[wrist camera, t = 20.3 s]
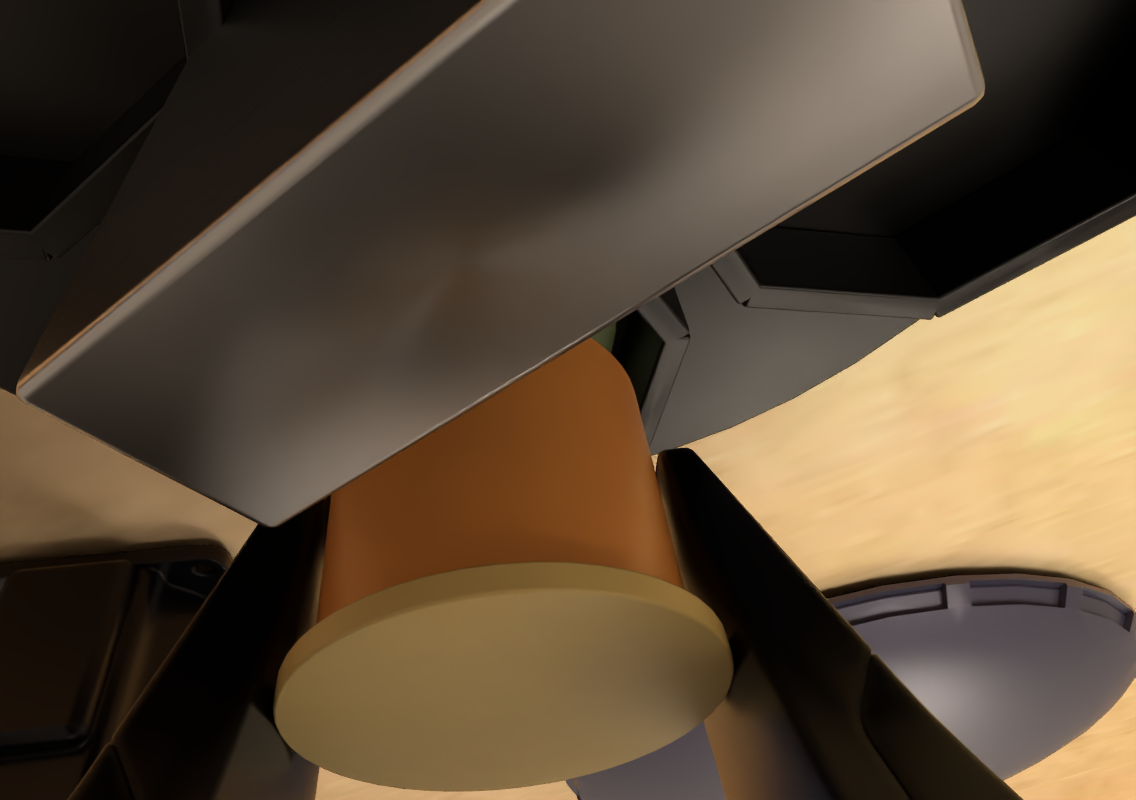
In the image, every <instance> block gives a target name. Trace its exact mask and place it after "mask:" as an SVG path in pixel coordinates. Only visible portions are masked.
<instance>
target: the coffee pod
mask: <svg viewBox="0 0 1136 800" xmlns="http://www.w3.org/2000/svg"><path fill="white" fill-rule="evenodd" d="M733 674H734V662H733V655H732V652H731V648H730V644H729V641H728V637H727V635H726V632H725V629H724V627H723V624H722V623H721V621H720V620H719V619H718V617H717V616H716V615H715V613H714V612H713V611H712V609H711V608H709V607H708V606H707V605H706V604H705V603H704V602H702V601H701V600H700V599H699V598H698V597H696V596H694V595H693V594H691V593H689V592H688V591H686V590H685V589H684V585H683V581H682V577H681V573H680V569H679V565H678V561H677V557H676V553H675V549H674V545H673V541H672V537H671V533H670V529H669V525H668V521H667V517H666V514H665V510H664V506H663V502H662V498H661V494H660V490H659V486H658V482H657V478H656V474H655V470H654V466H653V462H652V458H651V454H650V450H649V446H648V442H647V438H646V434H645V430H644V426H643V422H642V418H641V414H640V411H639V407H638V403H637V399H636V395H635V391H634V388H633V386H632V383H631V380H630V378H629V376H628V375H627V373H626V372H625V370H624V368H623V367H622V365H621V364H620V363H619V362H618V361H617V360H616V358H615V357H614V356H613V355H612V354H611V353H610V352H609V351H608V350H606V349H605V348H604V347H603V346H602V345H600V344H599V343H598V342H597V341H595V340H594V339H592V338H589V339H587V340H586V341H584V342H582V343H581V344H579V345H577V346H576V347H574V348H572V349H571V350H569V351H567V352H566V353H564V354H562V355H561V356H559V357H557V358H556V359H554V360H552V361H551V362H549V363H548V364H546V365H544V366H543V367H541V368H539V369H538V370H536V371H534V372H533V373H531V374H529V375H528V376H526V377H524V378H523V379H521V380H519V381H518V382H516V383H514V384H513V385H511V386H509V387H508V388H506V389H505V390H503V391H501V392H500V393H498V394H496V395H495V396H493V397H491V398H490V399H488V400H486V401H485V402H483V403H481V404H480V405H478V406H476V407H475V408H473V409H471V410H470V411H468V412H466V413H465V414H463V415H462V416H460V417H458V418H457V419H455V420H453V421H452V422H450V423H448V424H447V425H445V426H443V427H442V428H440V429H438V430H437V431H435V432H433V433H432V434H430V435H428V436H427V437H425V438H423V439H422V440H420V441H419V442H417V443H415V444H414V445H412V446H410V447H409V448H407V449H405V450H404V451H402V452H400V453H399V454H397V455H395V456H394V457H392V458H390V459H389V460H387V461H385V462H384V463H382V464H380V465H379V466H377V467H376V468H374V469H372V470H371V471H369V472H367V473H366V474H364V475H362V476H361V477H359V478H357V479H356V480H354V481H352V482H351V483H349V484H347V485H346V486H344V487H342V488H341V489H339V490H337V491H336V492H334V493H333V494H331V501H330V510H329V518H328V527H327V535H326V544H325V552H324V561H323V569H322V578H321V586H320V595H319V603H318V612H317V620H316V625H314V626H313V627H312V628H311V629H310V630H309V631H308V632H306V633H305V634H304V635H303V636H302V637H301V638H300V639H299V640H298V641H297V642H296V644H295V645H294V646H293V647H292V648H291V650H290V651H289V652H288V654H287V655H286V657H285V659H284V661H283V663H282V665H281V667H280V669H279V672H278V677H277V683H276V689H275V696H274V702H273V714H274V722H275V725H276V727H277V729H278V731H279V733H280V735H281V737H282V738H283V739H284V741H285V742H286V743H287V744H288V745H289V746H290V748H292V749H293V750H294V751H295V752H297V753H298V754H299V755H300V756H302V757H303V758H305V759H306V760H308V761H310V762H312V763H313V764H315V765H317V766H319V767H321V768H324V769H326V770H328V771H331V772H333V773H336V774H339V775H342V776H345V777H348V778H352V779H355V780H359V781H363V782H368V783H372V784H377V785H383V786H389V787H395V788H403V789H413V790H424V791H486V790H500V789H510V788H520V787H527V786H534V785H541V784H547V783H552V782H557V781H562V780H568V779H572V778H576V777H580V776H584V775H588V774H592V773H595V772H599V771H602V770H606V769H609V768H612V767H615V766H618V765H621V764H624V763H627V762H629V761H632V760H635V759H637V758H639V757H642V756H644V755H647V754H649V753H651V752H654V751H656V750H658V749H660V748H662V747H664V746H666V745H668V744H670V743H672V742H673V741H675V740H677V739H678V738H680V737H682V736H683V735H685V734H686V733H688V732H690V731H691V730H692V729H694V728H695V727H696V726H698V725H699V724H700V723H702V722H703V721H704V720H705V719H706V718H707V717H708V716H709V715H710V714H711V713H713V712H714V711H715V710H716V708H717V707H718V706H719V705H720V703H721V702H722V701H723V699H724V698H725V696H726V694H727V692H728V690H729V688H730V686H731V683H732V678H733Z"/></svg>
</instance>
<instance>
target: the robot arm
mask: <svg viewBox="0 0 1136 800" xmlns="http://www.w3.org/2000/svg"><path fill="white" fill-rule="evenodd" d="M655 474H656V478H657V482H658V486H659V490H660V494H661V498H662V502H663V506H664V510H665V514H666V517H667V521H668V525H669V529H670V533H671V537H672V541H673V545H674V549H675V553H676V557H677V561H678V565H679V569H680V573H681V577H682V581H683V585H684V589H685V590H686V591H688V592H689V593H691V594H693V595H694V596H696V597H698V598H699V599H700V600H701V601H702V602H704V603H705V604H706V605H707V606H708V607H709V608H711V609H712V611H713V612H714V613H715V615H716V616H717V617H718V619H719V620H720V621H721V623H722V624H723V627H724V629H725V632H726V635H727V637H728V641H729V644H730V648H731V652H732V655H733V662H734V674H733V678H732V683H731V686H730V688H729V690H728V692H727V694H726V696H725V698H724V699H723V701H722V702H721V703H720V705H719V706H718V707H717V708H716V710H715V711H714V712H713V713H711V714H710V715H709V716H708V717H707V718H706V719H705V720H704V721H703V722H704V725H705V729H706V732H707V735H708V739H709V742H710V746H711V749H712V753H713V756H714V760H715V763H716V766H717V770H718V773H719V777H720V780H721V784H722V787H723V790H724V794H725V797H726V800H1023V799H1022V798H1021V797H1020V796H1019V795H1018V794H1017V793H1016V792H1015V791H1013V790H1012V789H1011V788H1010V787H1009V786H1008V785H1007V784H1006V783H1005V782H1004V781H1003V780H1002V779H1000V778H999V777H998V776H997V775H996V774H995V773H994V772H993V771H992V770H991V769H990V768H989V767H987V766H986V765H985V764H984V763H983V762H982V761H981V760H980V759H979V758H978V757H977V756H976V755H975V754H973V753H972V752H971V751H970V750H969V749H968V748H967V747H966V746H965V745H964V744H963V743H962V742H961V741H960V740H959V739H958V738H957V737H956V736H955V735H954V734H953V733H951V732H950V731H949V730H948V729H947V728H946V727H945V726H944V725H943V724H942V723H941V722H940V721H939V720H938V719H937V718H936V717H935V716H934V715H933V714H932V713H931V712H930V711H929V710H928V709H927V708H926V707H925V706H924V705H923V704H922V703H921V702H920V700H919V699H918V698H917V697H916V696H915V695H914V694H913V693H912V692H911V691H910V690H909V689H908V688H907V687H906V686H905V685H904V684H903V682H902V681H901V680H900V679H899V678H898V677H897V676H896V675H895V674H894V673H893V672H892V670H891V669H890V668H889V667H888V666H887V665H886V664H885V663H884V661H883V660H882V659H881V658H880V657H879V656H878V655H877V654H872V655H871V653H872V649H871V647H870V646H869V645H868V644H867V643H866V642H865V641H864V640H863V638H862V637H861V636H860V635H859V634H858V633H857V632H856V631H855V630H854V628H853V627H852V626H851V625H850V624H849V623H848V622H847V621H846V620H845V618H844V617H843V616H842V615H841V614H840V613H839V612H838V611H837V610H836V608H835V607H834V606H833V605H832V604H831V603H830V602H829V601H828V600H827V598H826V597H825V596H824V595H823V594H822V593H821V592H820V591H819V590H818V588H817V587H816V586H815V585H814V584H813V583H812V582H811V581H810V580H809V578H808V577H807V576H806V575H805V574H804V573H803V572H802V571H801V570H800V568H799V567H798V566H797V565H796V564H795V563H794V562H793V561H792V560H791V558H790V557H789V556H788V555H787V554H786V553H785V552H784V551H783V550H782V548H781V547H780V546H779V545H778V544H777V543H776V542H775V541H774V540H773V538H772V537H771V536H770V535H769V534H768V533H767V532H766V531H765V530H764V528H763V527H762V526H761V525H760V524H759V523H758V522H757V521H756V520H755V518H754V517H753V516H752V515H751V514H750V513H749V512H748V511H747V510H746V508H745V507H744V506H743V505H742V504H741V503H740V502H739V501H738V500H737V498H736V497H735V496H734V495H733V494H732V493H731V492H730V491H729V490H728V488H727V487H726V486H725V485H724V484H723V483H722V482H721V481H720V480H719V478H718V477H717V476H716V475H715V474H714V473H713V472H712V471H711V470H710V468H709V467H708V466H707V465H706V464H705V463H704V462H703V461H702V460H701V458H700V457H699V456H698V455H697V454H696V453H695V452H694V451H693V450H691V449H689V448H676V449H665V450H662V451H661V452H660V453H659V455H658V458H657V465H656V472H655ZM329 510H330V504H329V501H328V498H327V497H326V498H324V499H323V500H321V501H319V502H318V503H316V504H314V505H313V506H311V507H309V508H308V509H306V510H304V511H303V512H301V513H299V514H298V515H296V516H294V517H293V518H291V519H290V520H288V521H286V522H285V523H283V524H281V525H280V526H278V527H272V528H271V527H264V526H262V525H260V524H258V525H257V526H256V528H255V529H254V531H253V532H252V534H251V535H250V537H249V538H248V539H247V541H246V542H245V544H244V545H243V547H242V548H241V550H240V551H239V553H238V554H237V555H236V557H235V558H234V560H232V558H231V556H230V554H229V553H228V552H227V551H226V550H225V549H223V548H221V547H218V546H214V545H194V546H183V547H173V548H162V549H152V550H141V551H131V552H120V553H109V554H99V555H88V556H78V557H67V558H57V559H46V560H36V561H25V562H15V563H4V564H0V800H315V796H316V788H317V781H318V773H319V766H317V765H315V764H313V763H312V762H310V761H308V760H306V759H305V758H303V757H302V756H300V755H299V754H298V753H297V752H295V751H294V750H293V749H292V748H290V746H289V745H288V744H287V743H286V742H285V741H284V739H283V738H282V737H281V735H280V733H279V731H278V729H277V727H276V725H275V722H274V714H273V702H274V696H275V689H276V683H277V677H278V672H279V669H280V667H281V665H282V663H283V661H284V659H285V657H286V655H287V654H288V652H289V651H290V650H291V648H292V647H293V646H294V645H295V644H296V642H297V641H298V640H299V639H300V638H301V637H302V636H303V635H304V634H305V633H306V632H308V631H309V630H310V629H311V628H312V627H313V626H314V625H316V620H317V612H318V603H319V595H320V586H321V578H322V569H323V561H324V552H325V544H326V535H327V527H328V518H329Z"/></svg>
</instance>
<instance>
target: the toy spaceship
mask: <svg viewBox="0 0 1136 800" xmlns="http://www.w3.org/2000/svg"><path fill="white" fill-rule="evenodd" d="M827 600H828V601H829V602H830V603H831V604H832V605H833V606H834V607H835V608H836V610H837V611H838V612H839V613H840V614H841V615H842V616H843V617H844V618H845V620H846V621H847V622H848V623H849V624H850V625H851V626H852V627H853V628H854V630H855V631H856V632H857V633H858V634H859V635H860V636H861V637H862V638H863V640H864V641H865V642H866V643H867V644H868V645H869V646H870V647H871V649H872V653H871V655H872V654H877V655H878V656H879V657H880V658H881V659H882V660H883V661H884V663H885V664H886V665H887V666H888V667H889V668H890V669H891V670H892V672H893V673H894V674H895V675H896V676H897V677H898V678H899V679H900V680H901V681H902V682H903V684H904V685H905V686H906V687H907V688H908V689H909V690H910V691H911V692H912V693H913V694H914V695H915V696H916V697H917V698H918V699H919V700H920V702H921V703H922V704H923V705H924V706H925V707H926V708H927V709H928V710H929V711H930V712H931V713H932V714H933V715H934V716H935V717H936V718H937V719H938V720H939V721H940V722H941V723H942V724H943V725H944V726H945V727H946V728H947V729H948V730H949V731H950V732H951V733H953V734H954V735H955V736H956V737H957V738H958V739H959V740H960V741H961V742H962V743H963V744H964V745H965V746H966V747H967V748H968V749H969V750H970V751H971V752H972V753H973V754H975V755H976V756H977V757H978V758H979V759H980V760H981V761H982V762H983V763H984V764H985V765H986V766H987V767H989V768H990V769H991V770H992V771H993V772H994V773H995V774H996V775H997V776H998V777H999V778H1000V779H1002V780H1005V779H1007V778H1010V777H1012V776H1014V775H1016V774H1017V773H1019V772H1021V771H1023V770H1025V769H1027V768H1029V767H1031V766H1032V765H1034V764H1036V763H1038V762H1040V761H1041V760H1043V759H1045V758H1046V757H1048V756H1049V755H1051V754H1053V753H1054V752H1056V751H1057V750H1059V749H1060V748H1062V747H1063V746H1065V745H1066V744H1068V743H1069V742H1071V741H1072V740H1074V739H1075V738H1077V737H1078V736H1080V735H1081V734H1083V733H1084V732H1086V731H1087V730H1088V729H1089V728H1090V727H1092V726H1093V725H1094V724H1095V723H1096V722H1097V721H1098V720H1099V719H1100V718H1102V717H1103V716H1104V715H1105V714H1106V713H1107V712H1108V711H1109V710H1110V709H1111V708H1112V707H1113V706H1114V705H1115V704H1116V702H1117V701H1118V700H1119V699H1120V698H1121V697H1122V696H1123V694H1124V693H1125V691H1126V690H1127V688H1128V687H1129V686H1130V684H1131V683H1132V681H1133V680H1134V679H1135V677H1136V613H1135V611H1134V610H1133V608H1131V607H1130V606H1129V605H1127V604H1126V603H1125V602H1123V601H1122V600H1121V599H1119V598H1118V597H1117V596H1115V595H1114V594H1113V593H1111V592H1110V591H1108V590H1104V589H1101V588H1098V587H1095V586H1092V585H1089V584H1085V583H1082V582H1079V581H1076V580H1073V579H1067V578H1057V577H1047V576H1038V575H1028V574H1019V573H1018V574H989V575H959V576H948V577H941V578H934V579H927V580H920V581H913V582H905V583H898V584H891V585H884V586H879V587H875V588H871V589H866V590H862V591H858V592H854V593H849V594H845V595H841V596H837V597H832V598H828V599H827ZM566 783H567V784H568V785H569V787H570V788H571V789H572V790H573V792H574V793H575V794H576V795H577V799H578V800H726V797H725V794H724V790H723V787H722V784H721V780H720V777H719V773H718V770H717V766H716V763H715V760H714V756H713V753H712V749H711V746H710V742H709V739H708V735H707V732H706V729H705V725H704V722H702V723H700V724H699V725H698V726H696V727H695V728H694V729H692V730H691V731H690V732H688V733H686V734H685V735H683V736H682V737H680V738H678V739H677V740H675V741H673V742H672V743H670V744H668V745H666V746H664V747H662V748H660V749H658V750H656V751H654V752H651V753H649V754H647V755H644V756H642V757H639V758H637V759H635V760H632V761H629V762H627V763H624V764H621V765H618V766H615V767H612V768H609V769H606V770H602V771H599V772H595V773H592V774H588V775H584V776H580V777H576V778H572V779H568V780H566Z"/></svg>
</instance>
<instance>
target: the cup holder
mask: <svg viewBox="0 0 1136 800" xmlns="http://www.w3.org/2000/svg"><path fill="white" fill-rule="evenodd" d="M1134 216H1136V0H0V388H1V389H3V390H6V391H8V392H10V393H12V394H14V395H16V396H17V397H18V398H19V399H20V400H21V401H22V402H23V403H24V404H26V405H28V406H30V407H32V408H34V409H36V410H38V411H40V412H42V413H44V414H45V415H47V416H49V417H51V418H53V419H55V420H57V421H59V422H61V423H63V424H65V425H67V426H69V427H71V428H73V429H75V430H77V431H79V432H81V433H83V434H84V435H86V436H88V437H90V438H92V439H94V440H96V441H98V442H100V443H102V444H104V445H106V446H108V447H110V448H112V449H114V450H116V451H118V452H120V453H122V454H123V455H125V456H127V457H129V458H131V459H133V460H135V461H137V462H139V463H141V464H143V465H145V466H147V467H149V468H151V469H153V470H155V471H157V472H159V473H161V474H162V475H164V476H166V477H168V478H170V479H172V480H174V481H176V482H178V483H180V484H182V485H184V486H186V487H188V488H190V489H192V490H194V491H196V492H198V493H199V494H201V495H203V496H205V497H207V498H209V499H211V500H213V501H215V502H217V503H219V504H221V505H223V506H225V507H227V508H229V509H231V510H233V511H235V512H237V513H238V514H240V515H242V516H244V517H246V518H248V519H250V520H252V521H254V522H256V523H258V524H260V525H262V526H264V527H271V528H272V527H278V526H280V525H281V524H283V523H285V522H286V521H288V520H290V519H291V518H293V517H294V516H296V515H298V514H299V513H301V512H303V511H304V510H306V509H308V508H309V507H311V506H313V505H314V504H316V503H318V502H319V501H321V500H323V499H324V498H326V497H327V498H328V501H329V504H330V501H331V494H333V493H334V492H336V491H337V490H339V489H341V488H342V487H344V486H346V485H347V484H349V483H351V482H352V481H354V480H356V479H357V478H359V477H361V476H362V475H364V474H366V473H367V472H369V471H371V470H372V469H374V468H376V467H377V466H379V465H380V464H382V463H384V462H385V461H387V460H389V459H390V458H392V457H394V456H395V455H397V454H399V453H400V452H402V451H404V450H405V449H407V448H409V447H410V446H412V445H414V444H415V443H417V442H419V441H420V440H422V439H423V438H425V437H427V436H428V435H430V434H432V433H433V432H435V431H437V430H438V429H440V428H442V427H443V426H445V425H447V424H448V423H450V422H452V421H453V420H455V419H457V418H458V417H460V416H462V415H463V414H465V413H466V412H468V411H470V410H471V409H473V408H475V407H476V406H478V405H480V404H481V403H483V402H485V401H486V400H488V399H490V398H491V397H493V396H495V395H496V394H498V393H500V392H501V391H503V390H505V389H506V388H508V387H509V386H511V385H513V384H514V383H516V382H518V381H519V380H521V379H523V378H524V377H526V376H528V375H529V374H531V373H533V372H534V371H536V370H538V369H539V368H541V367H543V366H544V365H546V364H548V363H549V362H551V361H552V360H554V359H556V358H557V357H559V356H561V355H562V354H564V353H566V352H567V351H569V350H571V349H572V348H574V347H576V346H577V345H579V344H581V343H582V342H584V341H586V340H587V339H589V338H592V339H594V340H595V341H597V342H598V343H599V344H600V345H602V346H603V347H604V348H605V349H606V350H608V351H609V352H610V353H611V354H612V355H613V356H614V357H615V358H616V360H617V361H618V362H619V363H620V364H621V365H622V367H623V368H624V370H625V372H626V373H627V375H628V376H629V378H630V380H631V383H632V386H633V388H634V391H635V395H636V399H637V403H638V407H639V411H640V414H641V418H642V422H643V426H644V430H645V434H646V438H647V442H648V446H649V450H650V454H651V456H652V455H655V454H659V453H660V452H661V451H662V450H665V449H675V448H678V447H680V446H683V445H686V444H688V443H691V442H694V441H696V440H699V439H702V438H705V437H707V436H710V435H713V434H715V433H718V432H721V431H723V430H726V429H729V428H731V427H734V426H736V425H738V424H740V423H742V422H744V421H746V420H749V419H751V418H753V417H755V416H757V415H759V414H761V413H764V412H766V411H768V410H770V409H772V408H774V407H776V406H779V405H781V404H783V403H785V402H787V401H789V400H791V399H794V398H795V397H797V396H799V395H801V394H802V393H804V392H806V391H808V390H809V389H811V388H813V387H815V386H816V385H818V384H820V383H822V382H823V381H825V380H827V379H829V378H830V377H832V376H834V375H836V374H837V373H839V372H841V371H843V370H844V369H846V368H848V367H850V366H851V365H853V364H855V363H857V362H858V361H860V360H861V359H862V358H864V357H865V356H867V355H868V354H870V353H871V352H873V351H874V350H876V349H877V348H879V347H880V346H881V345H883V344H884V343H886V342H887V341H889V340H890V339H892V338H893V337H895V336H896V335H898V334H899V333H900V332H902V331H903V330H905V329H906V328H908V327H909V326H911V325H912V324H914V323H915V322H917V321H918V320H919V319H927V320H930V319H932V318H933V317H934V315H935V316H937V317H942V316H943V315H945V314H947V313H949V312H951V311H953V310H955V309H957V308H959V307H961V306H963V305H965V304H967V303H969V302H970V301H972V300H974V299H976V298H978V297H980V296H982V295H984V294H986V293H988V292H990V291H992V290H994V289H995V288H997V287H999V286H1001V285H1003V284H1005V283H1007V282H1009V281H1011V280H1013V279H1015V278H1017V277H1019V276H1020V275H1022V274H1024V273H1026V272H1028V271H1030V270H1032V269H1034V268H1036V267H1038V266H1040V265H1042V264H1044V263H1046V262H1047V261H1049V260H1051V259H1053V258H1055V257H1057V256H1059V255H1061V254H1063V253H1065V252H1067V251H1069V250H1071V249H1072V248H1074V247H1076V246H1078V245H1080V244H1082V243H1084V242H1086V241H1088V240H1090V239H1092V238H1094V237H1096V236H1097V235H1099V234H1101V233H1103V232H1105V231H1107V230H1109V229H1111V228H1113V227H1115V226H1117V225H1119V224H1121V223H1123V222H1124V221H1126V220H1128V219H1130V218H1132V217H1134Z"/></svg>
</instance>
